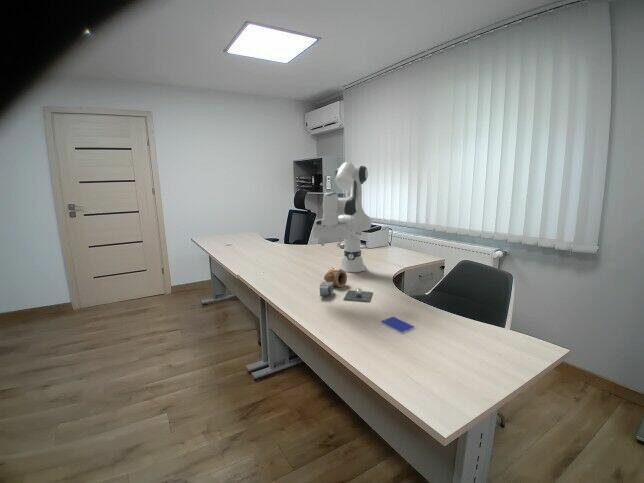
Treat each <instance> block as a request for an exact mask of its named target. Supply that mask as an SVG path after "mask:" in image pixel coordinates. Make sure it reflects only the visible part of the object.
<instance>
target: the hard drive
mask: <svg viewBox="0 0 644 483" xmlns="http://www.w3.org/2000/svg"><path fill="white" fill-rule="evenodd" d="M380 324H382V325H383V326H386V327H388V328H390V329H391V330H394V331H395V332H398V333H400V334H404V333H406V332H409V331H411V330H414V329H415V328H416V327H415V326H414V325H412V324H410V323H408V322H405V321H403V320H401V319H399V318H397V317H395V316H391V317H388V318H386V319H383V320H381V321H380Z"/></svg>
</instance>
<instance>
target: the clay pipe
mask: <svg viewBox="0 0 644 483" xmlns="http://www.w3.org/2000/svg"><path fill="white" fill-rule="evenodd" d="M323 279H324V282H333V287H338V288H343V287H344V286H345V285H346V283H347V281H348V280H347V279H348V274H347V272H346V271H344V270H341V269H334V268H331V269H329V270H328V271H327V272H326V273H325V274H324V277H323Z"/></svg>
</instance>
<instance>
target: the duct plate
mask: <svg viewBox="0 0 644 483" xmlns="http://www.w3.org/2000/svg"><path fill="white" fill-rule="evenodd" d="M372 296H373V291H365V290H364V291H362V289H361V288H355V290H349V289H348V290H347V293H345V296H344V297H343V301H350V302H361V303H362V302H363V303H370V302H371V299H372Z"/></svg>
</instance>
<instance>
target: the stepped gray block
mask: <svg viewBox="0 0 644 483" xmlns="http://www.w3.org/2000/svg"><path fill="white" fill-rule="evenodd" d="M334 291H335V290H334V286H333V282H327V281H322V282H321V283H320V285H319V296H323V297H332V296H333V294H334Z"/></svg>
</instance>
